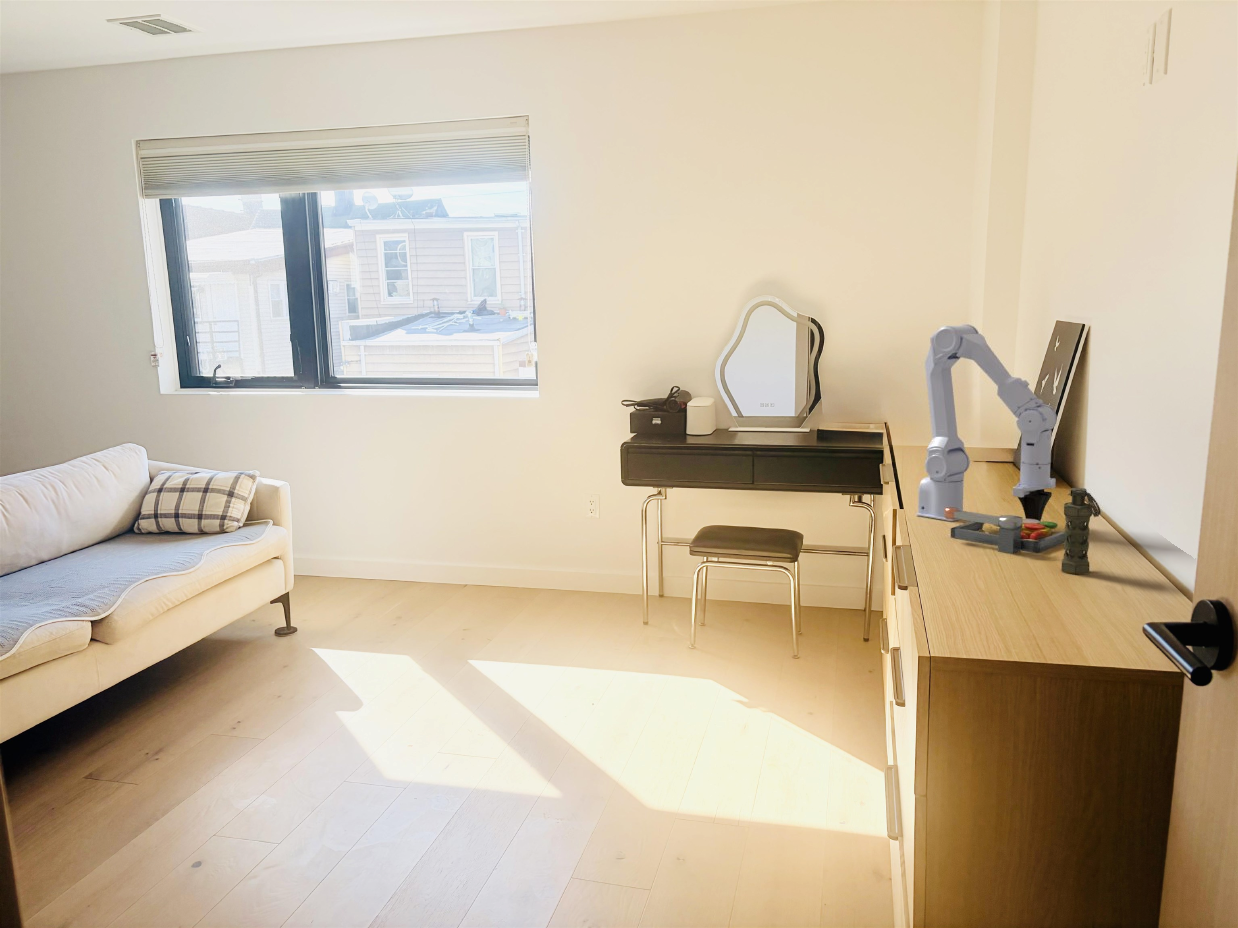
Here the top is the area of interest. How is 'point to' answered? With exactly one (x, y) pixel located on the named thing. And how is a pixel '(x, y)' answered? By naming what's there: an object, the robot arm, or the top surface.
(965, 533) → the tray
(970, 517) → the press arm
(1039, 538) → the toy food set
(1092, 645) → the top surface
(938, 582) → the top surface
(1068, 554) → the grenade
